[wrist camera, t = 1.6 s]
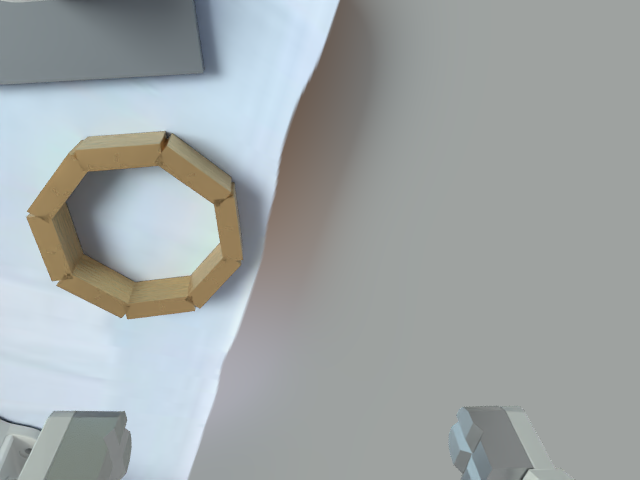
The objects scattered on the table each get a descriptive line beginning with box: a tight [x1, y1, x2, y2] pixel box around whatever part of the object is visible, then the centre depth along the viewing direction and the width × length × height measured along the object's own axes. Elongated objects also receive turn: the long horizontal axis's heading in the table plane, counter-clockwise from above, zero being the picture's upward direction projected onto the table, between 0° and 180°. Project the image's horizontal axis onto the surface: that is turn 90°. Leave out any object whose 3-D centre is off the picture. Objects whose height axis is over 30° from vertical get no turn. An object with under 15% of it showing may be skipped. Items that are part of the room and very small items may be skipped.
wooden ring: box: [26, 131, 243, 319], centre depth 34 cm, size 14×14×3 cm
